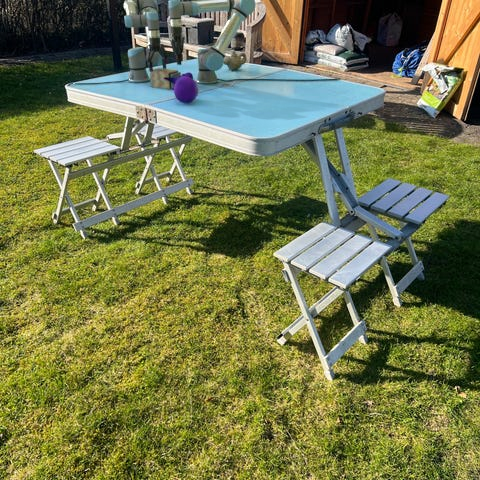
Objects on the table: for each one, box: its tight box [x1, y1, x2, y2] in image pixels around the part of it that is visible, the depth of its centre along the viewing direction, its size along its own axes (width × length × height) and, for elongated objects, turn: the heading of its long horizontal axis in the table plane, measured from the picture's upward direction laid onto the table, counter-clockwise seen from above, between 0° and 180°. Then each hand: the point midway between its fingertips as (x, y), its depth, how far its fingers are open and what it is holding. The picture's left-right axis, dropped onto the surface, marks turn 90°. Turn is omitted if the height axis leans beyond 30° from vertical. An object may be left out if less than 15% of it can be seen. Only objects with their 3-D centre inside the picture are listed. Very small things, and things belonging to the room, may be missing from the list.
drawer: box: [169, 71, 182, 89], centre depth 314 cm, size 22×9×9 cm, turn 56°
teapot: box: [223, 50, 247, 72], centre depth 367 cm, size 21×12×15 cm, turn 120°
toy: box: [164, 72, 199, 104], centre depth 277 cm, size 16×18×27 cm
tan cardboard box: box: [149, 67, 179, 90], centre depth 317 cm, size 18×10×11 cm, turn 56°
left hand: (158, 70), depth 317 cm, fingers open, 13 cm apart
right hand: (179, 64), depth 305 cm, fingers closed
